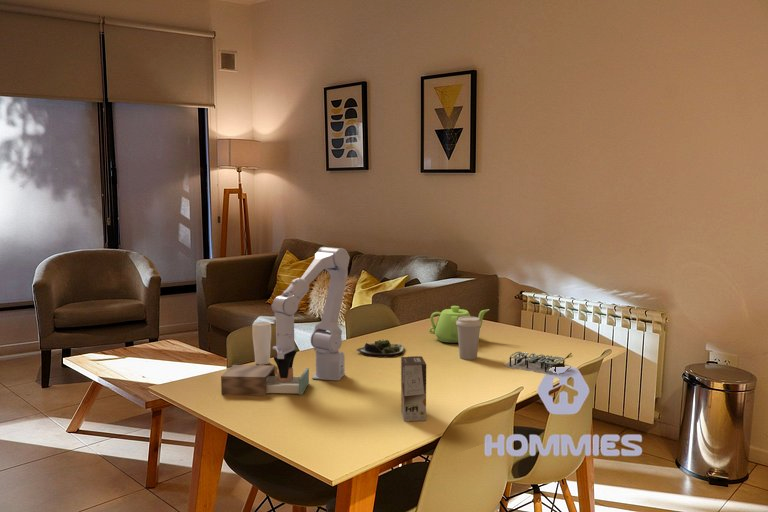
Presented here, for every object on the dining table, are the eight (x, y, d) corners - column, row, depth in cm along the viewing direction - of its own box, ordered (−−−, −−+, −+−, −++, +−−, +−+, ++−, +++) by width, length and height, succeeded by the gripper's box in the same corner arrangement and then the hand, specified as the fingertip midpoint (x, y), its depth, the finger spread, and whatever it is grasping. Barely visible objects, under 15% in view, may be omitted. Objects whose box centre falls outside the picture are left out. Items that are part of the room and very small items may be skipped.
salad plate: (364, 344, 270) (364, 333, 269) (407, 346, 266) (407, 335, 266) (354, 356, 251) (353, 344, 250) (400, 358, 248) (400, 346, 247)
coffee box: (426, 421, 182) (427, 364, 180) (403, 421, 181) (403, 365, 179) (422, 409, 191) (422, 355, 189) (400, 410, 190) (400, 356, 188)
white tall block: (267, 366, 236) (266, 325, 234) (250, 365, 237) (249, 324, 235) (274, 361, 242) (273, 321, 241) (257, 360, 244) (256, 321, 242)
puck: (281, 376, 213) (281, 366, 212) (295, 378, 211) (295, 367, 211) (274, 381, 208) (274, 370, 208) (288, 382, 206) (288, 372, 206)
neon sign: (585, 347, 248) (559, 365, 223) (585, 358, 248) (558, 377, 224) (532, 340, 259) (501, 356, 235) (532, 350, 260) (501, 367, 236)
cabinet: (275, 382, 217) (275, 365, 216) (265, 395, 204) (265, 377, 203) (233, 381, 218) (233, 364, 217) (221, 394, 205) (221, 376, 204)
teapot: (424, 338, 278) (424, 305, 276) (459, 332, 289) (459, 300, 288) (453, 347, 263) (453, 312, 261) (489, 341, 274) (490, 307, 272)
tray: (308, 382, 216) (308, 368, 215) (301, 394, 203) (301, 379, 203) (267, 381, 217) (267, 367, 216) (258, 394, 204) (257, 378, 204)
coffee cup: (452, 359, 245) (452, 320, 243) (459, 353, 254) (459, 315, 252) (477, 362, 241) (478, 322, 240) (483, 355, 250) (484, 317, 249)
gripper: (277, 328, 215) (278, 368, 217) (267, 338, 201) (268, 381, 202) (299, 328, 215) (299, 369, 216) (289, 338, 201) (290, 382, 202)
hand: (285, 375), depth 209 cm, fingers closed on puck, 5 cm apart
